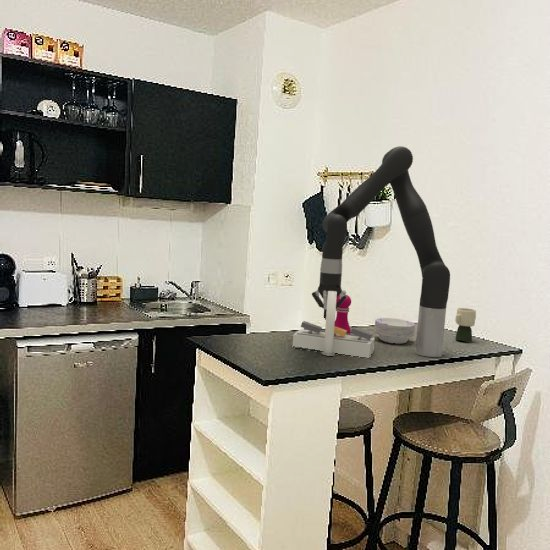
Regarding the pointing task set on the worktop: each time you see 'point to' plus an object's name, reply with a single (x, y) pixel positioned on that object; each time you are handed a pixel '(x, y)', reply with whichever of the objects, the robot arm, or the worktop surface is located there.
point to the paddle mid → (339, 331)
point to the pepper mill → (343, 314)
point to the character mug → (465, 323)
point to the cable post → (330, 323)
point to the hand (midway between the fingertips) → (327, 319)
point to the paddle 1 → (311, 327)
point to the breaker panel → (335, 343)
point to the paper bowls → (394, 330)
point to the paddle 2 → (361, 333)
